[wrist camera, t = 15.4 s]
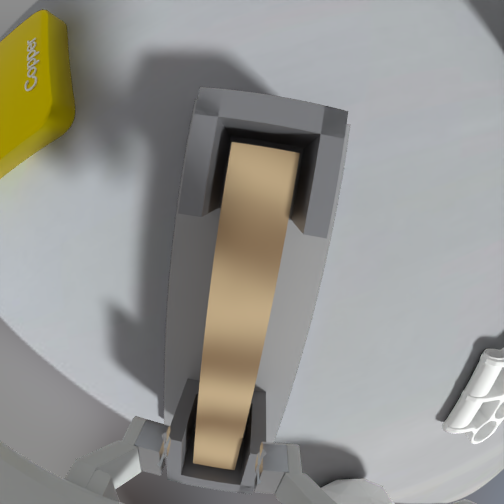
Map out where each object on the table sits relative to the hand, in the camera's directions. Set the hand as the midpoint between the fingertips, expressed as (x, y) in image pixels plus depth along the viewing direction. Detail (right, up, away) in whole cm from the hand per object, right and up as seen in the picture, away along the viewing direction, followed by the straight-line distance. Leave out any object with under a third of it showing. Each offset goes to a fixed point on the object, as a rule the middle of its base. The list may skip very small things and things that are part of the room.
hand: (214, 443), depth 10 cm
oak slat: (0, +3, +12) cm, 12 cm away
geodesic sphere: (+14, -26, +21) cm, 36 cm away
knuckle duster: (+34, -10, +17) cm, 40 cm away
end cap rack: (0, +3, +15) cm, 15 cm away
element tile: (-24, +24, +11) cm, 36 cm away
